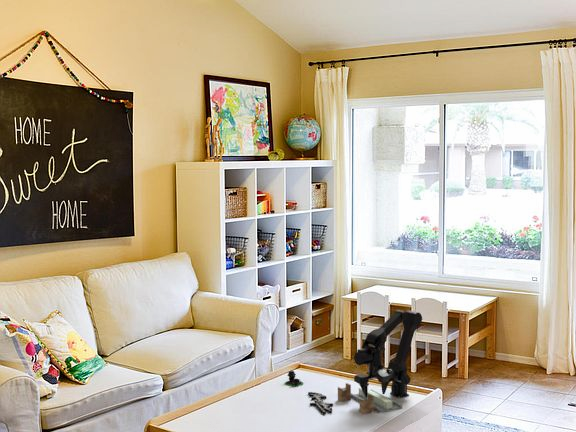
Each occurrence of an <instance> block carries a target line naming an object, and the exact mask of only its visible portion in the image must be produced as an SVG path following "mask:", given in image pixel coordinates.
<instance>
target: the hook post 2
mask: <svg viewBox="0 0 576 432" xmlns="http://www.w3.org/2000/svg"><path fill="white" fill-rule="evenodd" d="M359 413H360V414H362V415H367V414H373V413H374V410H373V396H371V395H368V399H367V400H362V399H360V402H359Z"/></svg>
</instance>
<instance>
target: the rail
mask: <svg viewBox="0 0 576 432" xmlns="http://www.w3.org/2000/svg"><path fill="white" fill-rule="evenodd" d="M358 394H359V395H361V396H363V397H365V395H364V393H363V391H362V388H361V387H358ZM368 395H371V396H373V402H374V403H376V404H378V405H380V406H382V407H384V408H386V409H389V408H392V401H391V400H392V399H391V400H389V399H390V398H389V399H387V398H388V397H387V398H385V397H386V396H385V397H383V396H384V395H383V396H381V395H382V394H381V395H379V394H377V393H375V392H373V391H371V390H370V388H368ZM368 395H367V399H368ZM365 398H366V397H365Z"/></svg>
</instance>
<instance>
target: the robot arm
mask: <svg viewBox="0 0 576 432" xmlns="http://www.w3.org/2000/svg"><path fill="white" fill-rule="evenodd" d="M422 322H423V316H422V314H421V313H420V312H417V311H412V310H410V309H409V310H406V311H404V310H399V309H397V310H395V311H394V313H393V314H392V315H390V317H389V318H388V319H387V320H386V321H384V323H383V324H382V325H381V326H380V327H378V328H376V329H373V330H372V331H370V332H369V333H368V334H367V335H366V337H365V339H364V342H363V344H362V346H361V348H360V349H357V352H356V353H354V356H353V360H354V363H355V364H356V365H357V366H364V365H367V366H368V371H366V375H365V374H364V373H359V374H355V375H354V376H353V382H355V383H356V384H358V385H359V387H360V388H362V391H363V393H364V395H365V397H366V398H367V395H368V389H369V388H368V387H369V385H370V384H369V382H370V380H377V381H378V382H379V383H381V384H380V385H381V386H380V387H381V392H382V393H381V395H385V394H386V392H387V389H388V386H389V385H390V383H391V387H390V388H391V389H390V390H391V391H390V392H389V394H390V395H392V396H393V397H396V398H399V399H400V398H403V397H409V396H410V394H409V393H408V384H410V383H411V377H410V376H409V374H408V373H407V372H408V368H407V367H408V366H407V358H408V355H409V353H410V349H411V345H412V341H413V337H414V334H415V332H416V331H417V330H418V329H419V328H420V326H421V324H422ZM401 324H402V326H403V330H402V334H401V336H400V341H399V344H398V347H397V350H396V351H397V352H396V355H395V358H394V359H392V361H391V360H389V362H388V366H387V368H386V369H385V368H384V364H383V363H382V361H383V360H382V359H383V357H382V356H383V355H382V352H383V351H386V348H385V347H383V345H384V344H385V343H386V342H387V340H388V336H389V335H390V334H391V333H392V332H393V331H395V329H396V328H397V327H398V326H399V325H401Z"/></svg>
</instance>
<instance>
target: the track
mask: <svg viewBox="0 0 576 432" xmlns="http://www.w3.org/2000/svg"><path fill="white" fill-rule="evenodd" d="M369 390H371V391H373V392H375V393H377V394H379V395H381V396H383V397H385V398H387V399H389V400H391V401H392V408H389V409H386V408H384V407H382V406H380V405H378V404H376V403H374V402H373V411H375V412H377V413H379V414H380V413H386V412H390V411H395V410H400V409H403V404H401V403H399V402H397V401H395V400H394V399H391V398H389V397H387V396H385V395H384V394H382V393H380V392H378V391H375V390H374V389H372V388H371V389H370V388H369ZM351 399H354V401H357V402H358V403H360V399H362V400H367V398H365V397H363V396H361V395H359V393H352V392H351Z"/></svg>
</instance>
